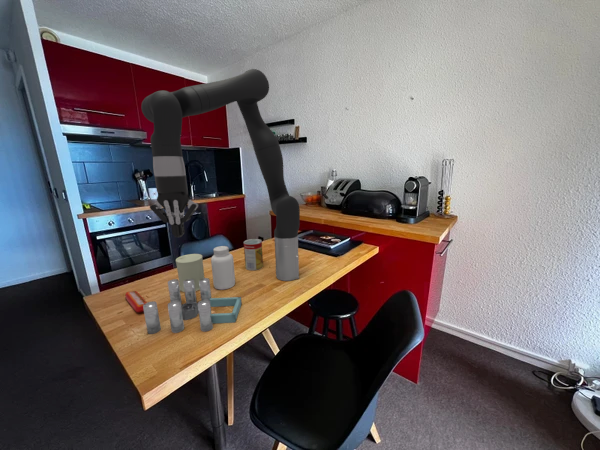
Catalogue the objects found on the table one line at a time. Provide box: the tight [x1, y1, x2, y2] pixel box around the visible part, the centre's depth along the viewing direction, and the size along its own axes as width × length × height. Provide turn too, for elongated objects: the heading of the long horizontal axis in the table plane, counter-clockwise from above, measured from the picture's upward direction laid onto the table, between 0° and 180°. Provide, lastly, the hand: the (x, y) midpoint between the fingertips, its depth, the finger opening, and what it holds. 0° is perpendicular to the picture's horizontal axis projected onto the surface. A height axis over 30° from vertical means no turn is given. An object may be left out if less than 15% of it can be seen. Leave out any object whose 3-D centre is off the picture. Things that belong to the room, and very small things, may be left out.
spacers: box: [143, 277, 214, 335], centre depth 76 cm, size 18×17×8 cm
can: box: [175, 253, 206, 293], centre depth 93 cm, size 9×9×12 cm
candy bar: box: [125, 290, 148, 313], centre depth 83 cm, size 16×4×3 cm, turn 47°
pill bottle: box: [210, 245, 236, 290], centre depth 93 cm, size 8×8×15 cm
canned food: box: [243, 238, 264, 271], centre depth 111 cm, size 8×8×12 cm
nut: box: [181, 301, 199, 321], centre depth 76 cm, size 5×6×3 cm
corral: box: [209, 296, 242, 324], centre depth 77 cm, size 10×10×2 cm
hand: (178, 236), depth 71 cm, fingers closed
